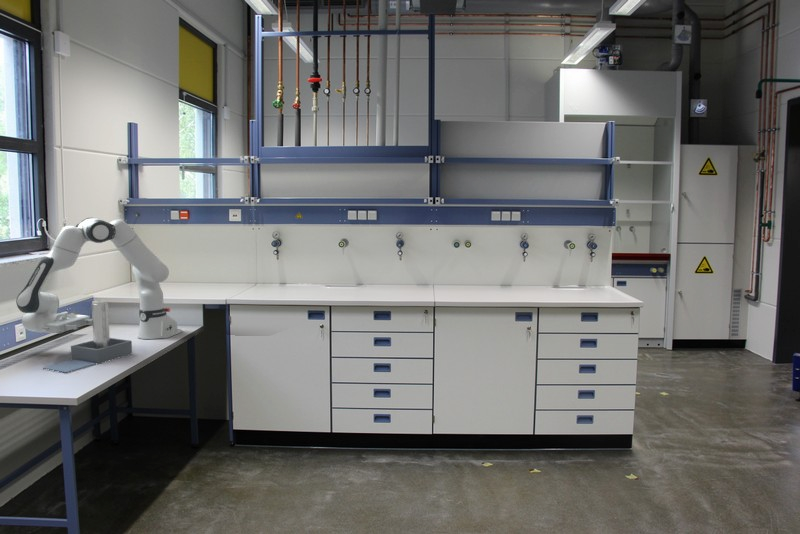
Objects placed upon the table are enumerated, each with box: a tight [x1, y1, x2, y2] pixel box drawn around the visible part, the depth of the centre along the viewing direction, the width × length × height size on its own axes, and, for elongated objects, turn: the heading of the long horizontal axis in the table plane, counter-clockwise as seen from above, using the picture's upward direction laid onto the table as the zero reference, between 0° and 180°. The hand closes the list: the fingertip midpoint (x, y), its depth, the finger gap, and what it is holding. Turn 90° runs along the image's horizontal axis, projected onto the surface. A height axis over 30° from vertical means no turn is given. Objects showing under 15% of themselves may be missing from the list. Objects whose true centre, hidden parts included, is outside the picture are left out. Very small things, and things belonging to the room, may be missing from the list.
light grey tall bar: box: [90, 299, 111, 349], centre depth 263 cm, size 6×6×25 cm
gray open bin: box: [70, 337, 133, 365], centre depth 264 cm, size 18×16×6 cm
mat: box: [42, 358, 97, 374], centre depth 248 cm, size 14×14×1 cm
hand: (84, 324), depth 264 cm, fingers open, 8 cm apart
